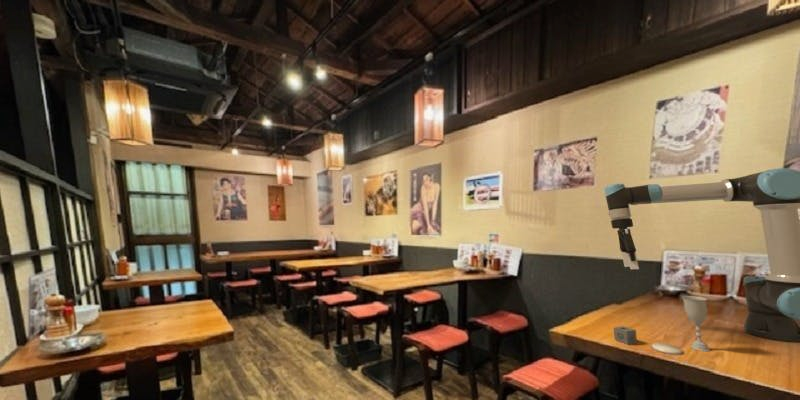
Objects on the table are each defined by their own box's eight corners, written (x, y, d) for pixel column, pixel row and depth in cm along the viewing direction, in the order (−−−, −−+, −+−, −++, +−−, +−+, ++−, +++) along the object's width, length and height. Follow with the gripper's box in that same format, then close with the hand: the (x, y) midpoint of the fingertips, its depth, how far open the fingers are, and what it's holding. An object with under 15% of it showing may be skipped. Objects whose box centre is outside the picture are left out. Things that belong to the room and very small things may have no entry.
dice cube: (623, 338, 119) (622, 326, 119) (637, 343, 114) (635, 329, 115) (614, 340, 117) (613, 327, 118) (627, 345, 113) (626, 331, 113)
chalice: (708, 354, 103) (701, 301, 105) (683, 347, 109) (677, 297, 111) (718, 349, 106) (711, 298, 108) (693, 343, 112) (687, 295, 114)
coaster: (676, 347, 109) (675, 344, 109) (686, 356, 102) (686, 353, 102) (649, 344, 112) (648, 341, 112) (657, 352, 105) (656, 350, 105)
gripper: (607, 221, 143) (616, 266, 139) (614, 218, 121) (626, 270, 117) (626, 219, 139) (636, 265, 135) (637, 215, 118) (649, 269, 114)
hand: (631, 268), depth 126 cm, fingers open, 13 cm apart
